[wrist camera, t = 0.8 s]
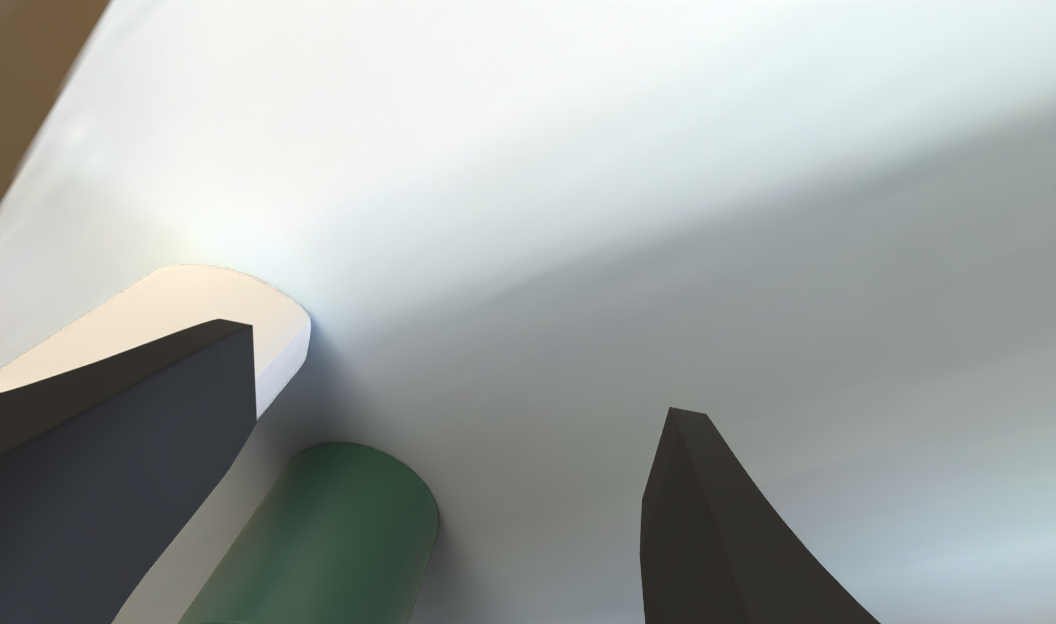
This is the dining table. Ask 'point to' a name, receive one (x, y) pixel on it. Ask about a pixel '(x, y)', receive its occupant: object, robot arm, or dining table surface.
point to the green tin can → (327, 545)
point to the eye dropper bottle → (178, 326)
